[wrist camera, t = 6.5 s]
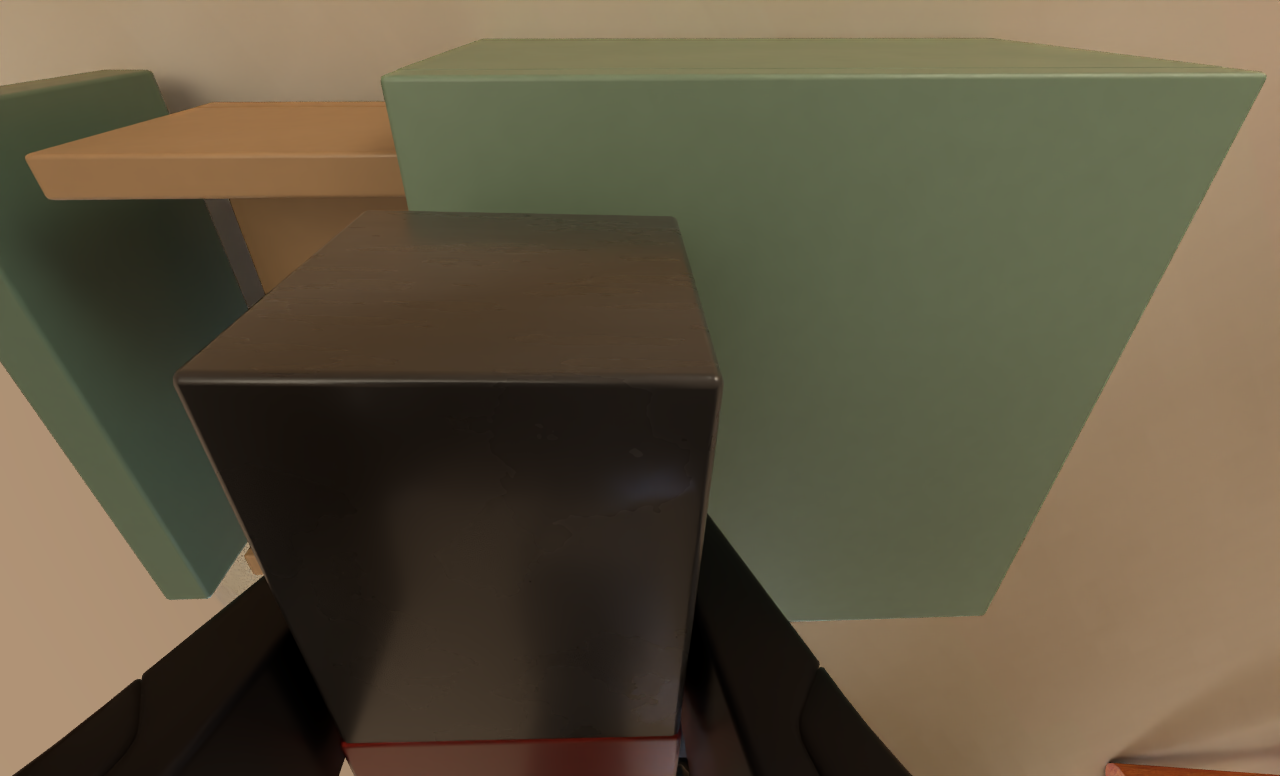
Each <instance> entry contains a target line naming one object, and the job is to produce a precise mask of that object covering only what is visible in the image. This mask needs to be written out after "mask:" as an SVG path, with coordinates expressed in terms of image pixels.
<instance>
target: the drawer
mask: <svg viewBox="0 0 1280 776" xmlns="http://www.w3.org/2000/svg"><path fill="white" fill-rule="evenodd" d="M228 198H229V201H230V203H231V206H232V208H233V211H234V214H235V216H236V219H237V222H238V224H239V227H240V229H241V232H242V235H243V237H244V240H245V242H246V245H247V248H248V250H249V253H250V256H251V258H252V261H253V263H254V266H255V269H256V271H257V274H258V277H259V279H260V282H261V284H262V287H263V290H264V292H265V295H266V294H267V293H269V292H270V291H271V290H272V289H273V288H274V287H276V286H277V285H278V284H279V283H280V282H282V281H283V280H284V279H285V278H286V277H287V276H289V275H290V274H291V273H292V272H293V271H295V270H296V269H297V268H298V267H299V266H300V265H302V264H303V263H304V262H305V261H306V260H307V259H309V258H310V257H311V256H312V255H313V254H315V253H316V252H317V251H318V250H319V249H320V248H322V247H323V246H324V245H325V244H326V243H327V242H329V241H330V240H331V239H332V238H333V237H335V236H336V235H337V234H338V233H339V232H340V231H342V230H343V229H344V228H345V227H346V226H348V225H349V224H350V223H351V222H352V221H353V220H355V219H356V218H357V217H358V216H359V215H360V214H362V213H363V212H365V211H367V210H386V211H409V210H408V205H407V201H406V196H405V192H404V187H403V182H402V178H401V173H400V169H399V164H398V159H397V155H396V150H395V146H394V141H393V136H392V132H391V127H390V122H389V118H388V113H387V109H386V104H385V102H212V103H208V104H205V105H201V106H197V107H195V108H191V109H187V110H184V111H180V112H177V113H173V114H169V112H168V110H167V107H166V105H165V102H164V100H163V97H162V95H161V92H160V90H159V87H158V85H157V83H156V80H155V78H154V75H153V73H152V72H151V71H149V70H101V71H94V72H88V73H81V74H75V75H68V76H62V77H55V78H49V79H42V80H36V81H29V82H23V83H16V84H10V85H4V86H0V362H1V363H2V365H3V366H4V367H5V369H6V370H7V372H8V373H9V374H10V376H11V377H12V379H13V380H14V382H15V383H16V384H17V386H18V387H19V389H20V390H21V392H22V393H23V395H24V396H25V397H26V399H27V400H28V402H29V403H30V404H31V406H32V407H33V409H34V410H35V412H36V413H37V414H38V416H39V417H40V419H41V420H42V421H43V423H44V424H45V426H46V427H47V429H48V430H49V432H50V433H51V434H52V436H53V437H54V439H55V440H56V442H57V443H58V444H59V446H60V447H61V449H62V450H63V452H64V453H65V454H66V456H67V457H68V458H69V460H70V462H71V463H72V464H73V466H74V467H75V469H76V470H77V472H78V473H79V474H80V476H81V477H82V479H83V480H84V481H85V483H86V484H87V486H88V487H89V489H90V490H91V492H92V493H93V494H94V496H95V497H96V499H97V500H98V502H99V503H100V504H101V506H102V507H103V509H104V510H105V511H106V513H107V514H108V516H109V517H110V519H111V520H112V521H113V523H114V524H115V526H116V527H117V528H118V530H119V531H120V533H121V534H122V536H123V537H124V539H125V540H126V541H127V543H128V544H129V546H130V547H131V549H132V550H133V551H134V553H135V554H136V556H137V557H138V559H139V560H140V561H141V563H142V564H143V566H144V567H145V568H146V570H147V571H148V573H149V574H150V576H151V577H152V579H153V580H154V581H155V582H156V584H157V586H158V587H159V588H160V590H161V591H162V593H163V594H164V596H165V597H166V598H167V599H169V600H177V599H208V598H210V597H211V596H212V594H213V593H214V591H215V590H216V588H217V587H218V585H219V584H220V582H221V581H222V579H223V578H224V576H225V575H226V573H227V572H228V570H229V569H230V567H231V566H232V564H233V563H234V561H235V560H236V558H237V557H238V555H239V554H240V552H241V551H242V549H243V548H244V546H245V545H246V543H247V542H248V541H247V539H246V537H245V535H244V532H243V530H242V528H241V526H240V524H239V522H238V520H237V518H236V516H235V514H234V511H233V509H232V507H231V505H230V503H229V501H228V499H227V497H226V495H225V493H224V490H223V488H222V486H221V484H220V482H219V480H218V478H217V476H216V474H215V472H214V469H213V467H212V465H211V463H210V461H209V459H208V457H207V455H206V453H205V451H204V448H203V446H202V444H201V442H200V440H199V438H198V436H197V434H196V432H195V430H194V427H193V425H192V423H191V421H190V419H189V417H188V415H187V413H186V411H185V409H184V406H183V404H182V402H181V400H180V398H179V396H178V394H177V392H176V390H175V387H174V385H173V376H174V373H175V372H176V371H177V370H178V369H179V368H180V367H181V366H183V365H184V364H185V363H186V362H187V361H188V360H190V359H191V358H192V357H193V356H194V355H196V354H197V353H198V352H199V351H200V350H201V349H203V348H204V347H205V346H206V345H207V344H209V343H210V342H211V341H212V340H213V339H214V338H216V337H217V336H218V335H219V334H220V333H221V332H223V331H224V330H225V329H226V328H227V327H229V326H230V325H231V324H232V323H233V322H234V321H236V320H237V319H238V318H239V317H240V316H242V315H243V314H244V313H245V312H246V311H247V310H249V309H248V307H247V305H246V302H245V300H244V297H243V295H242V292H241V290H240V287H239V285H238V282H237V280H236V277H235V275H234V272H233V270H232V268H231V265H230V263H229V260H228V258H227V255H226V253H225V250H224V248H223V245H222V243H221V240H220V238H219V235H218V233H217V231H216V228H215V226H214V223H213V221H212V218H211V216H210V213H209V211H208V208H207V206H206V203H205V201H204V199H228ZM245 559H246V561H247V563H248V565H249V567H250V569H251V570H252V572H253V574H255V575H263V572H262V570H261V568H260V566H259V564H258V562H257V560H256V558H255V556H254V553H253V551H252V549H251V547H250V548H249V549H248V551H247V552H246V554H245Z"/></svg>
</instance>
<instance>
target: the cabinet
mask: <svg viewBox="0 0 1280 776" xmlns="http://www.w3.org/2000/svg"><path fill="white" fill-rule="evenodd" d="M1265 80H1266V75H1265V74H1264V73H1262V72H1259V71H1250V70H1242V69H1234V68H1223V67H1220V66H1212V65H1204V64H1196V63H1188V62H1180V61H1172V60H1164V59H1156V58H1148V57H1140V56H1132V55H1124V54H1116V53H1108V52H1099V51H1091V50H1083V49H1075V48H1067V47H1059V46H1051V45H1043V44H1035V43H1027V42H1019V41H1011V40H1002V39H994V38H746V39H481V40H478V41H474V42H472V43H469V44H466V45H463V46H461V47H458V48H455V49H452V50H450V51H447V52H444V53H441V54H439V55H436V56H433V57H430V58H427V59H425V60H422V61H419V62H416V63H414V64H411V65H408V66H405V67H403V68H400V69H398V70H396V71H394V72H391V73H388V74H386V75H384V76H382V77H381V86H382V90H383V95H384V99H385V104H386V109H387V113H388V118H389V122H390V127H391V132H392V136H393V141H394V146H395V150H396V155H397V159H398V164H399V169H400V173H401V178H402V182H403V187H404V192H405V196H406V201H407V205H408V210H409V211H436V212H485V213H535V214H585V215H634V216H672V217H674V218H676V219H677V222H678V225H679V228H680V232H681V235H682V239H683V242H684V246H685V249H686V253H687V256H688V259H689V263H690V266H691V270H692V273H693V277H694V280H695V284H696V287H697V291H698V294H699V298H700V301H701V304H702V308H703V311H704V315H705V318H706V322H707V325H708V329H709V332H710V336H711V339H712V343H713V346H714V349H715V353H716V356H717V360H718V363H719V367H720V370H721V374H722V377H723V381H724V389H723V396H722V404H721V412H720V419H719V427H718V435H717V442H716V450H715V458H714V466H713V473H712V481H711V489H710V496H709V504H708V512H707V513H708V514H709V516H710V517H711V518H712V520H713V521H714V522H715V524H716V525H717V526H718V528H719V529H720V530H721V532H722V533H723V534H724V536H725V537H726V538H727V540H728V541H729V542H730V544H731V545H732V546H733V548H734V549H735V550H736V552H737V553H738V554H739V556H740V557H741V558H742V560H743V561H744V562H745V564H746V565H747V566H748V568H749V569H750V570H751V572H752V573H753V574H754V576H755V577H756V578H757V580H758V581H759V582H760V584H761V585H762V586H763V588H764V589H765V590H766V592H767V593H768V594H769V596H770V597H771V598H772V600H773V601H774V602H775V604H776V605H777V606H778V608H779V609H780V610H781V612H782V613H783V614H784V616H785V617H786V618H787V620H788V621H789V622H800V621H830V620H861V619H892V618H923V617H954V616H982V615H984V614H985V613H986V611H987V609H988V607H989V605H990V603H991V601H992V599H993V597H994V596H995V594H996V592H997V590H998V588H999V586H1000V584H1001V582H1002V580H1003V578H1004V577H1005V575H1006V573H1007V571H1008V569H1009V567H1010V565H1011V563H1012V561H1013V559H1014V558H1015V556H1016V554H1017V552H1018V550H1019V548H1020V546H1021V544H1022V542H1023V540H1024V539H1025V537H1026V535H1027V533H1028V531H1029V529H1030V527H1031V525H1032V523H1033V521H1034V519H1035V518H1036V516H1037V514H1038V512H1039V510H1040V508H1041V506H1042V504H1043V502H1044V500H1045V499H1046V497H1047V495H1048V493H1049V491H1050V489H1051V487H1052V485H1053V483H1054V481H1055V480H1056V478H1057V476H1058V474H1059V472H1060V470H1061V468H1062V466H1063V464H1064V462H1065V461H1066V459H1067V457H1068V455H1069V453H1070V451H1071V449H1072V447H1073V445H1074V443H1075V442H1076V440H1077V438H1078V436H1079V434H1080V432H1081V430H1082V428H1083V426H1084V424H1085V422H1086V421H1087V419H1088V417H1089V415H1090V413H1091V411H1092V409H1093V407H1094V405H1095V403H1096V402H1097V400H1098V398H1099V396H1100V394H1101V392H1102V390H1103V388H1104V386H1105V384H1106V383H1107V381H1108V379H1109V377H1110V375H1111V373H1112V371H1113V369H1114V367H1115V365H1116V364H1117V362H1118V360H1119V358H1120V356H1121V354H1122V352H1123V350H1124V348H1125V346H1126V345H1127V343H1128V341H1129V339H1130V337H1131V335H1132V333H1133V331H1134V329H1135V327H1136V325H1137V324H1138V322H1139V320H1140V318H1141V316H1142V314H1143V312H1144V310H1145V308H1146V306H1147V305H1148V303H1149V301H1150V299H1151V297H1152V295H1153V293H1154V291H1155V289H1156V287H1157V286H1158V284H1159V282H1160V280H1161V278H1162V276H1163V274H1164V272H1165V270H1166V268H1167V267H1168V265H1169V263H1170V261H1171V259H1172V257H1173V255H1174V253H1175V251H1176V249H1177V248H1178V246H1179V244H1180V242H1181V240H1182V238H1183V236H1184V234H1185V232H1186V230H1187V228H1188V227H1189V225H1190V223H1191V221H1192V219H1193V217H1194V215H1195V213H1196V211H1197V209H1198V208H1199V206H1200V204H1201V202H1202V200H1203V198H1204V196H1205V194H1206V192H1207V190H1208V189H1209V187H1210V185H1211V183H1212V181H1213V179H1214V177H1215V175H1216V173H1217V171H1218V170H1219V168H1220V166H1221V164H1222V162H1223V160H1224V158H1225V156H1226V154H1227V152H1228V151H1229V149H1230V147H1231V145H1232V143H1233V141H1234V139H1235V137H1236V135H1237V133H1238V131H1239V130H1240V128H1241V126H1242V124H1243V122H1244V120H1245V118H1246V116H1247V114H1248V112H1249V111H1250V109H1251V107H1252V105H1253V103H1254V101H1255V99H1256V97H1257V95H1258V93H1259V92H1260V90H1261V88H1262V86H1263V84H1264V82H1265Z"/></svg>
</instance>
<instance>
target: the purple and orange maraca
mask: <svg viewBox="0 0 1280 776" xmlns="http://www.w3.org/2000/svg"><path fill="white" fill-rule="evenodd" d="M1106 776H1280V775H1272V774H1258V773H1244V772H1230V771H1216V770H1202V769H1188V768H1174V767H1160V766H1147V765H1133V764H1119V763H1108V764H1107V766H1106Z"/></svg>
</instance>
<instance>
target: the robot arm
mask: <svg viewBox="0 0 1280 776" xmlns="http://www.w3.org/2000/svg"><path fill="white" fill-rule="evenodd" d="M819 665H820V663H819V661H818V660H817V659H816V657H815V656H814V655H813V653H812V652H811V651H810V649H809V648H808V647H807V645H806V644H805V643H804V641H803V640H802V639H801V637H800V636H799V634H798V633H797V632H796V630H795V629H794V628H793V626H792V625H791V624H790V622H789V621H788V620H787V618H786V617H785V616H784V614H783V613H782V612H781V610H780V609H779V608H778V606H777V605H776V604H775V602H774V601H773V600H772V598H771V597H770V596H769V594H768V593H767V592H766V590H765V589H764V588H763V586H762V585H761V584H760V582H759V581H758V580H757V578H756V577H755V576H754V574H753V573H752V572H751V570H750V569H749V568H748V566H747V565H746V564H745V562H744V561H743V560H742V558H741V557H740V556H739V554H738V553H737V552H736V550H735V549H734V548H733V546H732V545H731V544H730V542H729V541H728V540H727V538H726V537H725V536H724V534H723V533H722V532H721V530H720V529H719V528H718V526H717V525H716V524H715V522H714V521H713V520H712V518H711V517H710V516H709V514H708V513H707V519H706V527H705V535H704V542H703V550H702V558H701V565H700V573H699V581H698V588H697V596H696V604H695V612H694V619H693V627H692V635H691V642H690V650H689V658H688V665H687V673H686V681H685V688H684V696H683V704H682V711H681V719H680V720H681V731H682V735H681V743H680V750H679V757H678V765H677V772H676V776H912V775H911V774H910V773H909V772H908V770H907V769H906V768H905V767H904V766H903V765H902V764H901V763H900V761H899V760H898V759H897V758H896V757H895V756H894V755H893V753H892V752H891V751H890V750H889V749H888V748H887V747H886V745H885V744H884V743H883V742H882V741H881V740H880V739H879V737H878V736H877V735H876V734H875V733H874V732H873V731H872V729H871V728H870V727H869V726H868V725H867V723H866V722H865V721H864V720H863V718H862V717H861V716H860V715H859V713H858V712H857V711H856V709H855V708H854V707H853V706H852V704H851V703H850V702H849V701H848V699H847V698H846V697H845V696H844V694H843V693H842V692H841V690H840V689H839V688H838V686H837V685H836V684H835V682H834V681H833V680H832V678H831V677H830V676H829V674H828V673H827V672H826V670H825V669H824V668H823V667H820V668H819ZM818 668H819V669H818ZM340 740H341V736H340V734H339V732H338V730H337V728H336V726H335V724H334V722H333V719H332V717H331V715H330V713H329V711H328V709H327V707H326V705H325V703H324V701H323V698H322V696H321V694H320V692H319V690H318V688H317V686H316V684H315V682H314V680H313V677H312V675H311V673H310V671H309V669H308V667H307V665H306V663H305V661H304V659H303V656H302V654H301V652H300V650H299V648H298V646H297V644H296V642H295V640H294V638H293V635H292V633H291V631H290V629H289V627H288V625H287V623H286V621H285V619H284V617H283V614H282V612H281V610H280V608H279V606H278V604H277V602H276V600H275V598H274V596H273V593H272V591H271V589H270V587H269V585H268V583H267V581H266V579H265V577H264V576H263V577H262V578H260V579H259V580H258V581H257V582H255V583H254V584H253V585H252V586H251V587H249V588H248V589H247V590H246V591H244V592H243V593H242V594H241V595H239V596H238V597H237V598H236V599H235V600H233V601H232V602H231V603H230V604H228V605H227V606H226V607H225V608H223V609H222V610H221V611H220V612H219V613H218V614H216V615H215V616H214V617H213V618H211V619H210V620H209V621H208V622H206V623H205V624H204V625H203V626H201V627H200V628H199V629H198V630H196V631H195V632H194V633H193V634H192V635H190V636H189V637H188V638H187V639H185V640H184V641H183V642H182V643H180V644H179V645H178V646H177V647H176V648H174V649H173V650H172V651H171V652H170V653H168V654H167V655H166V656H165V657H163V658H162V659H161V660H160V661H158V662H157V663H156V664H155V665H153V666H152V667H151V668H150V669H149V670H147V671H146V672H145V673H144V674H143V675H142V680H141V679H137V680H135V681H133V682H132V683H131V684H130V685H129V686H127V687H126V688H125V689H124V690H122V691H121V692H120V693H119V694H117V695H116V696H115V697H114V698H113V699H111V700H110V701H109V702H108V703H106V704H105V705H104V706H103V707H101V708H100V709H99V710H98V711H96V712H95V713H94V714H92V715H91V716H90V717H89V718H87V719H86V720H85V721H84V722H83V723H81V724H80V725H78V726H77V727H76V728H75V729H73V730H72V731H71V732H70V733H68V734H67V735H66V736H65V737H63V738H62V739H61V740H60V741H58V742H57V743H56V744H54V745H53V746H52V747H50V748H49V749H48V750H47V751H45V752H44V753H43V754H41V755H40V756H38V757H37V758H36V759H34V760H33V761H31V762H30V763H29V764H27V765H26V766H25V767H24V768H22V769H21V770H20V771H18V772H17V773H15V774H14V775H13V776H339V773H340V771H341V767H342V765H343V762H344V759H345V755H344V753H343V751H342V749H341V747H340Z"/></svg>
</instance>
